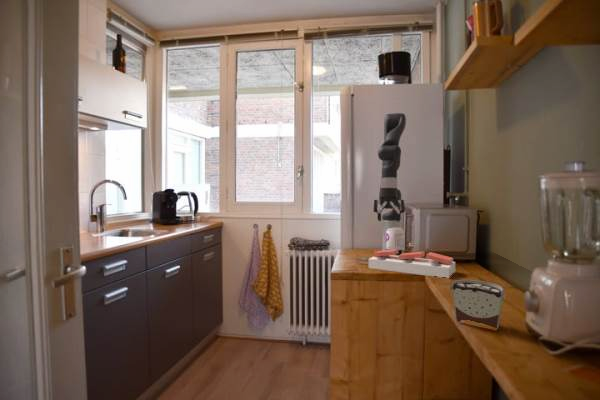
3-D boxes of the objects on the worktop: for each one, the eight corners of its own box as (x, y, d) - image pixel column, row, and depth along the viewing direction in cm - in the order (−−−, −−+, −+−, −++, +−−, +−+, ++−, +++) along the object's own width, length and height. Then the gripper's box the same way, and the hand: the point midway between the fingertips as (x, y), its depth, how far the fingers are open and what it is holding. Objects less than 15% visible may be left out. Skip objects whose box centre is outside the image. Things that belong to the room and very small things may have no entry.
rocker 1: (379, 254, 155) (378, 250, 155) (398, 252, 150) (398, 249, 150) (374, 256, 150) (373, 253, 150) (394, 255, 145) (393, 251, 145)
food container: (510, 325, 85) (510, 285, 84) (504, 333, 80) (505, 290, 80) (457, 313, 93) (457, 277, 93) (449, 320, 88) (449, 281, 88)
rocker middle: (403, 256, 149) (403, 253, 149) (424, 255, 144) (424, 251, 144) (399, 259, 144) (398, 255, 144) (420, 257, 139) (420, 253, 139)
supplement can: (385, 261, 160) (385, 229, 160) (387, 257, 168) (387, 227, 168) (404, 262, 158) (403, 229, 157) (404, 258, 166) (404, 227, 165)
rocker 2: (429, 255, 143) (430, 252, 143) (452, 261, 138) (453, 257, 138) (425, 258, 138) (426, 254, 138) (449, 264, 133) (450, 260, 133)
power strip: (362, 261, 162) (362, 250, 161) (455, 271, 139) (455, 259, 139) (351, 266, 152) (351, 254, 152) (448, 278, 129) (448, 265, 129)
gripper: (405, 187, 165) (405, 221, 165) (376, 188, 171) (375, 220, 171) (403, 186, 159) (403, 222, 158) (372, 187, 165) (372, 221, 164)
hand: (388, 221), depth 165 cm, fingers open, 8 cm apart
